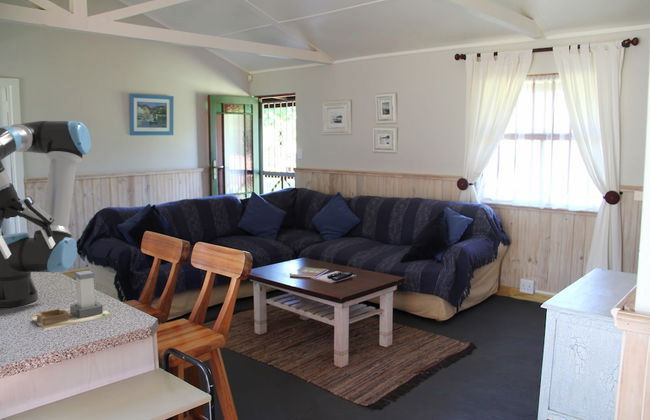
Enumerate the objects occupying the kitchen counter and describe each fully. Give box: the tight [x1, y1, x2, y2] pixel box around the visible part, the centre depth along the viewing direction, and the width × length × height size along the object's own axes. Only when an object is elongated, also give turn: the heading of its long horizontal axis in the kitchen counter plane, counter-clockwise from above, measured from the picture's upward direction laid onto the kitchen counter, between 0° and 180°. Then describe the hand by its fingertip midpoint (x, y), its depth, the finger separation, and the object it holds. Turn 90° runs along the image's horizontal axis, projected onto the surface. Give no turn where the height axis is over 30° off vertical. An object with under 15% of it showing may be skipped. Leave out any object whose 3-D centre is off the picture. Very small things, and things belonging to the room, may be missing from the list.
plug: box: [74, 270, 96, 309], centre depth 177 cm, size 4×4×13 cm
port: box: [69, 300, 106, 318], centre depth 177 cm, size 10×8×2 cm
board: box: [29, 308, 115, 331], centre depth 175 cm, size 16×20×1 cm
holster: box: [36, 308, 69, 325], centre depth 171 cm, size 7×7×2 cm
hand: (30, 251), depth 168 cm, fingers open, 13 cm apart
